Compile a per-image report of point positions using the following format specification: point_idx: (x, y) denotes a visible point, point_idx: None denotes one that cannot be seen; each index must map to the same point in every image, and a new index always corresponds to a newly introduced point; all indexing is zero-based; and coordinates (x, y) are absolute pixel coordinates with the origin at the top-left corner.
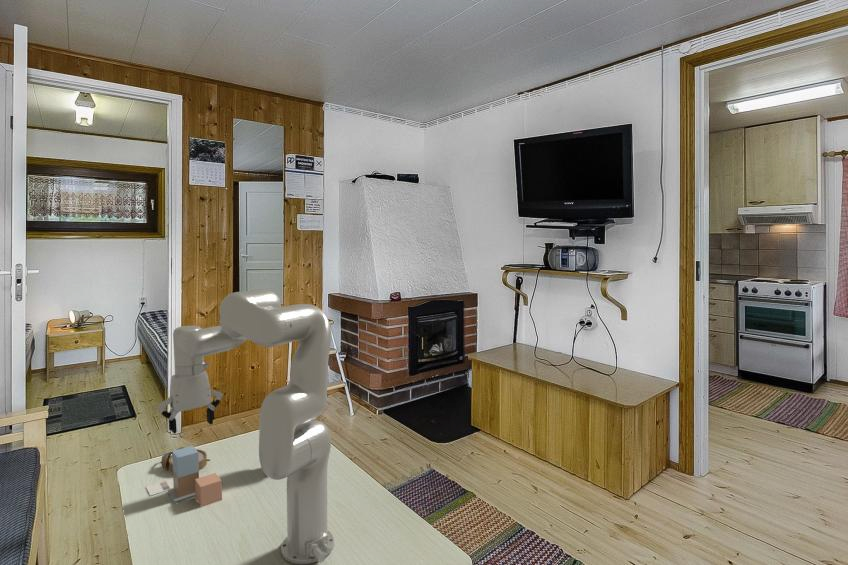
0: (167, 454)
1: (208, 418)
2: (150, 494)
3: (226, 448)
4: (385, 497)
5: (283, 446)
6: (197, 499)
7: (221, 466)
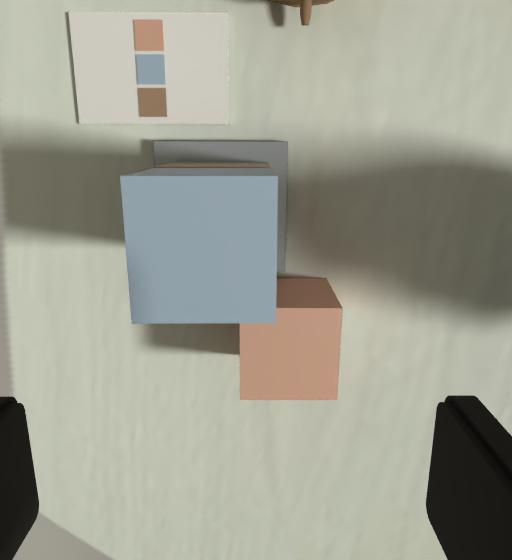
0: None
1: (456, 507)
2: (81, 115)
3: None
4: None
5: None
6: None
7: (445, 36)
